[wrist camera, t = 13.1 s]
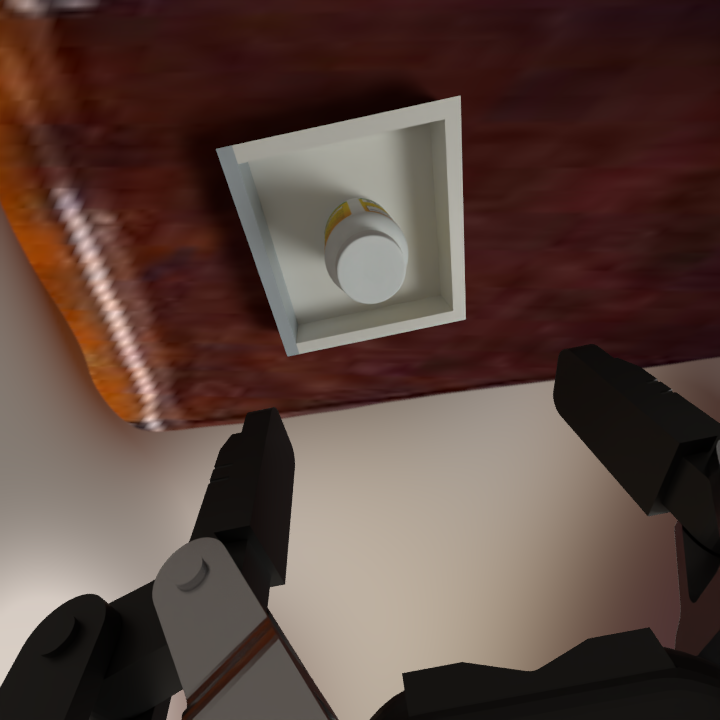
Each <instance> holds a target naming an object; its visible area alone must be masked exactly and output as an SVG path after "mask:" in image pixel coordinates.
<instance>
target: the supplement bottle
mask: <svg viewBox="0 0 720 720" xmlns="http://www.w3.org/2000/svg"><path fill="white" fill-rule="evenodd" d="M407 262H408V245H407V241H406V238H405V236H404V234H403V232H402V230H401V229H400V227H399V226H398V225H397V223H396V222H395V221H394V220H393V219H392V218H391V217H390V215H389V214H388V213H387V212H386V211H385V210H384V209H383V208H382V207H381V206H380V205H379V204H377V203H376V202H374V201H372V200H369V199H365V198H353V199H349V200H347V201H345V202H343V203H341V204H340V205H338V206H337V207H336V208H335V209H334V211H333V212H332V213H331V215H330V216H329V218H328V221H327V223H326V227H325V265H326V268H327V271H328V274H329V276H330V278H331V279H332V281H333V282H334V283H335V284H336V285H337V286H338V287H339V288H340V289H341V290H343V291H344V292H345V293H346V294H347V295H348V296H349V297H350V298H351V299H353V300H355V301H357V302H360V303H364V304H376V303H380V302H383V301H385V300H387V299H389V298H390V297H392V296H393V295H394V294H395V293H396V292H397V291H398V290H399V289H400V287H401V285H402V283H403V281H404V278H405V274H406V266H407Z"/></svg>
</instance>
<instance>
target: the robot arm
mask: <svg viewBox="0 0 720 720" xmlns="http://www.w3.org/2000/svg"><path fill="white" fill-rule="evenodd" d="M553 399H554V404H555V407H556V409H557V411H558V413H559V414H560V415H561V417H562V418H563V419H564V420H565V421H566V422H567V424H568V425H569V426H570V427H571V428H572V429H573V431H575V433H576V434H577V435H578V436H579V437H580V439H581V440H582V441H583V442H584V443H585V444H586V445H587V447H588V448H589V449H590V450H591V451H592V452H593V453H594V455H595V456H596V457H597V458H598V459H599V460H600V462H601V463H602V464H603V465H604V466H605V467H606V468H607V470H608V471H609V472H610V473H611V474H612V475H613V477H614V478H615V479H616V480H617V481H618V482H619V483H620V485H621V486H622V487H623V488H624V489H625V490H626V492H627V493H628V494H629V495H630V496H631V497H632V498H633V500H634V501H635V502H636V503H637V504H638V505H639V506H640V508H641V509H642V510H643V511H644V512H645V513H646V515H647V516H652V515H657V514H663V513H668V512H671V513H672V514H673V515H674V517H675V518H676V519H677V520H678V521H677V523H676V525H675V530H674V532H675V544H676V557H677V569H678V581H679V594H680V620H679V625H678V629H677V633H676V639H675V650H674V649H670V648H666V647H662V645H661V644H660V642H659V641H658V639H657V638H656V636H655V635H654V633H653V632H652V630H651V629H650V628H644V629H638V630H633V631H627V632H622V633H616V634H611V635H606V636H600V637H595V638H590V639H587V640H585V641H584V642H582V643H581V644H579V645H577V646H576V647H574V648H572V649H571V650H569V651H567V652H566V653H564V654H563V655H561V656H559V657H558V658H556V659H554V660H553V661H551V662H549V663H548V664H546V665H545V666H543V667H541V668H540V669H538V670H535V671H521V670H514V669H507V668H500V667H493V666H486V665H478V664H472V663H464V662H461V663H455V664H450V665H444V666H439V667H434V668H428V669H423V670H418V671H412V672H407V673H402V676H403V682H404V689H405V690H404V691H403V692H401V693H399V694H397V695H396V696H394V697H393V698H391V699H390V700H389V701H388V702H387V703H385V704H384V705H383V706H382V707H381V708H380V709H379V710H378V711H377V712H376V713H375V714H374V715H373V716H372V718H371V719H370V720H720V423H718V422H717V421H715V420H714V419H713V418H711V417H710V416H709V415H707V414H706V413H704V412H703V411H702V410H700V409H699V408H697V407H696V406H694V405H693V404H692V403H690V402H689V401H687V400H686V399H684V398H683V397H682V396H680V395H679V394H678V393H673V392H672V389H671V388H669V387H668V386H666V385H665V384H663V383H662V382H658V381H657V379H656V378H655V377H654V376H652V375H651V374H649V373H648V372H646V371H645V370H644V369H642V368H641V367H639V366H637V365H634V364H632V363H629V362H627V361H624V360H622V359H619V358H613V357H612V356H610V355H609V354H608V353H606V352H605V351H604V350H602V349H601V348H599V347H598V346H596V345H594V344H589V345H584V346H579V347H574V348H569V349H564V350H562V351H561V352H560V354H559V357H558V364H557V371H556V378H555V384H554V391H553ZM214 467H215V469H214V470H213V473H212V476H211V478H210V484H209V485H208V487H207V491H206V494H205V496H204V499H203V503H202V505H201V509H200V511H199V514H198V517H197V521H196V524H195V527H194V529H193V532H192V536H191V538H190V541H189V543H187V544H185V545H184V546H182V547H181V548H179V549H178V550H177V551H176V552H175V553H173V554H172V556H171V557H170V558H169V559H168V560H167V561H166V562H165V563H164V565H163V566H162V568H161V569H160V571H159V573H158V575H157V577H156V579H155V580H153V581H152V582H150V583H148V584H146V585H144V586H142V587H140V588H138V589H137V590H134V591H133V592H130V593H129V594H127V595H125V596H123V597H121V598H119V599H117V600H115V601H113V602H111V603H109V604H108V603H107V602H106V601H105V600H103V599H102V598H101V597H100V596H98V595H95V594H85V595H81V596H78V597H75V598H73V599H71V600H69V601H67V602H66V603H64V604H62V605H61V606H60V607H58V608H57V609H55V610H54V611H53V612H52V613H51V614H49V615H48V616H47V617H46V618H45V619H44V620H43V621H42V622H41V623H40V624H39V625H38V626H37V628H36V629H35V630H34V631H33V632H32V634H31V635H30V636H29V638H28V639H27V641H26V642H25V644H24V645H23V647H22V649H21V651H20V652H19V654H18V656H17V658H16V660H15V662H14V663H13V665H12V667H11V669H10V671H9V672H8V674H7V676H6V678H5V680H4V682H3V683H2V685H1V687H0V720H166V718H167V713H168V709H169V704H170V700H171V696H172V695H174V694H176V693H177V692H179V691H181V690H182V689H183V690H184V693H185V696H186V700H187V709H186V710H185V711H184V712H183V714H182V720H338V718H337V716H336V715H335V713H334V712H333V710H332V709H331V707H330V705H329V704H328V703H327V701H326V699H325V698H324V696H323V695H322V693H321V692H320V690H319V689H318V687H317V686H316V684H315V683H314V681H313V679H312V678H311V676H310V675H309V673H308V671H307V670H306V668H305V667H304V665H303V663H302V662H301V660H300V659H299V657H298V655H297V654H296V652H295V651H294V649H293V648H292V646H291V645H290V643H289V641H288V640H287V638H286V636H285V635H284V633H283V632H282V630H281V628H280V627H279V625H278V623H277V622H276V620H275V619H274V617H273V615H272V614H271V612H270V611H269V609H268V608H267V606H268V597H269V589H270V587H273V586H279V585H284V584H285V578H286V566H287V554H288V542H289V530H290V518H291V507H292V495H293V483H294V471H295V458H294V452H293V448H292V445H291V442H290V440H289V437H288V435H287V432H286V430H285V427H284V425H283V422H282V420H281V417H280V415H279V412H278V410H277V409H276V408H275V407H273V408H268V409H263V410H258V411H253V412H249V413H247V415H246V418H245V421H244V425H243V429H242V432H241V433H237V434H232V435H231V436H230V438H229V439H228V440H227V442H226V443H225V444H224V445H223V447H222V448H221V449H220V451H219V454H218V457H217V460H216V463H215V466H214Z"/></svg>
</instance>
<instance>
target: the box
mask: <svg viewBox="0 0 720 720" xmlns="http://www.w3.org/2000/svg"><path fill="white" fill-rule="evenodd" d="M216 151H217V154H218V157H219V160H220V163H221V166H222V168H223V171H224V174H225V177H226V180H227V183H228V186H229V189H230V192H231V194H232V197H233V200H234V203H235V206H236V209H237V212H238V215H239V218H240V220H241V223H242V226H243V229H244V232H245V235H246V238H247V241H248V243H249V246H250V249H251V252H252V255H253V258H254V261H255V264H256V267H257V269H258V272H259V275H260V278H261V281H262V284H263V287H264V290H265V293H266V295H267V298H268V301H269V304H270V307H271V310H272V313H273V316H274V318H275V321H276V324H277V327H278V330H279V333H280V336H281V339H282V342H283V344H284V347H285V350H286V353H287V356H292V355H297V354H302V353H306V352H311V351H316V350H321V349H326V348H330V347H335V346H340V345H345V344H350V343H354V342H359V341H364V340H369V339H374V338H378V337H383V336H388V335H393V334H398V333H403V332H407V331H412V330H417V329H422V328H427V327H431V326H436V325H441V324H446V323H451V322H455V321H460V320H465V319H466V309H465V267H464V224H463V181H462V139H461V96H456V97H452V98H447V99H443V100H438V101H434V102H429V103H424V104H420V105H415V106H411V107H406V108H401V109H397V110H392V111H388V112H383V113H379V114H374V115H369V116H365V117H360V118H356V119H351V120H346V121H342V122H337V123H333V124H328V125H324V126H319V127H314V128H310V129H305V130H301V131H296V132H291V133H287V134H282V135H278V136H273V137H268V138H264V139H259V140H255V141H250V142H246V143H241V144H236V145H232V146H227V147H223V148H218V149H216ZM353 198H365V199H369V200H372V201H374V202H376V203H377V204H379V205H380V206H381V207H382V208H383V209H384V210H385V211H386V212H387V213H388V214H389V215H390V217H391V218H392V219H393V220H394V221H395V222H396V223H397V225H398V226H399V227H400V229H401V230H402V232H403V234H404V236H405V238H406V241H407V245H408V262H407V266H406V274H405V278H404V281H403V283H402V285H401V287H400V289H399V290H398V291H397V292H396V293H395V294H394V295H393V296H392V297H390V298H389V299H387V300H385V301H383V302H380V303H376V304H364V303H360V302H357V301H355V300H353V299H351V298H350V297H349V296H348V295H347V294H346V293H345V292H344V291H343V290H341V289H340V288H339V287H338V286H337V285H336V284H335V283H334V282H333V281H332V279H331V278H330V276H329V274H328V271H327V268H326V265H325V227H326V223H327V221H328V218H329V216H330V215H331V213H332V212H333V211H334V209H335V208H336V207H337V206H338V205H340V204H341V203H343V202H345V201H347V200H349V199H353Z"/></svg>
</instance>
